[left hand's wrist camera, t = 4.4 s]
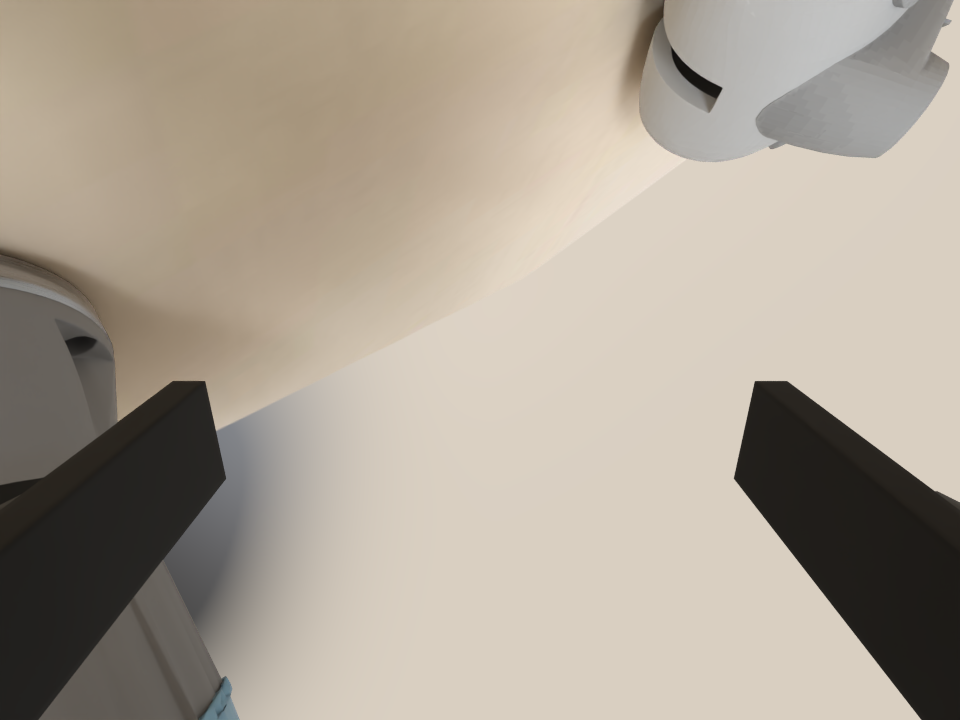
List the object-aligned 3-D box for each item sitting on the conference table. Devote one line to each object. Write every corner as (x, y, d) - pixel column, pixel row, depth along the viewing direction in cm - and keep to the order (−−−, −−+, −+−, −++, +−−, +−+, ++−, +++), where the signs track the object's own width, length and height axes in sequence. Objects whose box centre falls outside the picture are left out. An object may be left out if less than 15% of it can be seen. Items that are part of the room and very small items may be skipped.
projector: (685, 112, 46) (801, 236, 43) (538, 79, 29) (708, 275, 26) (971, -205, 31) (1181, -54, 28) (996, -624, 15) (1511, -374, 12)
